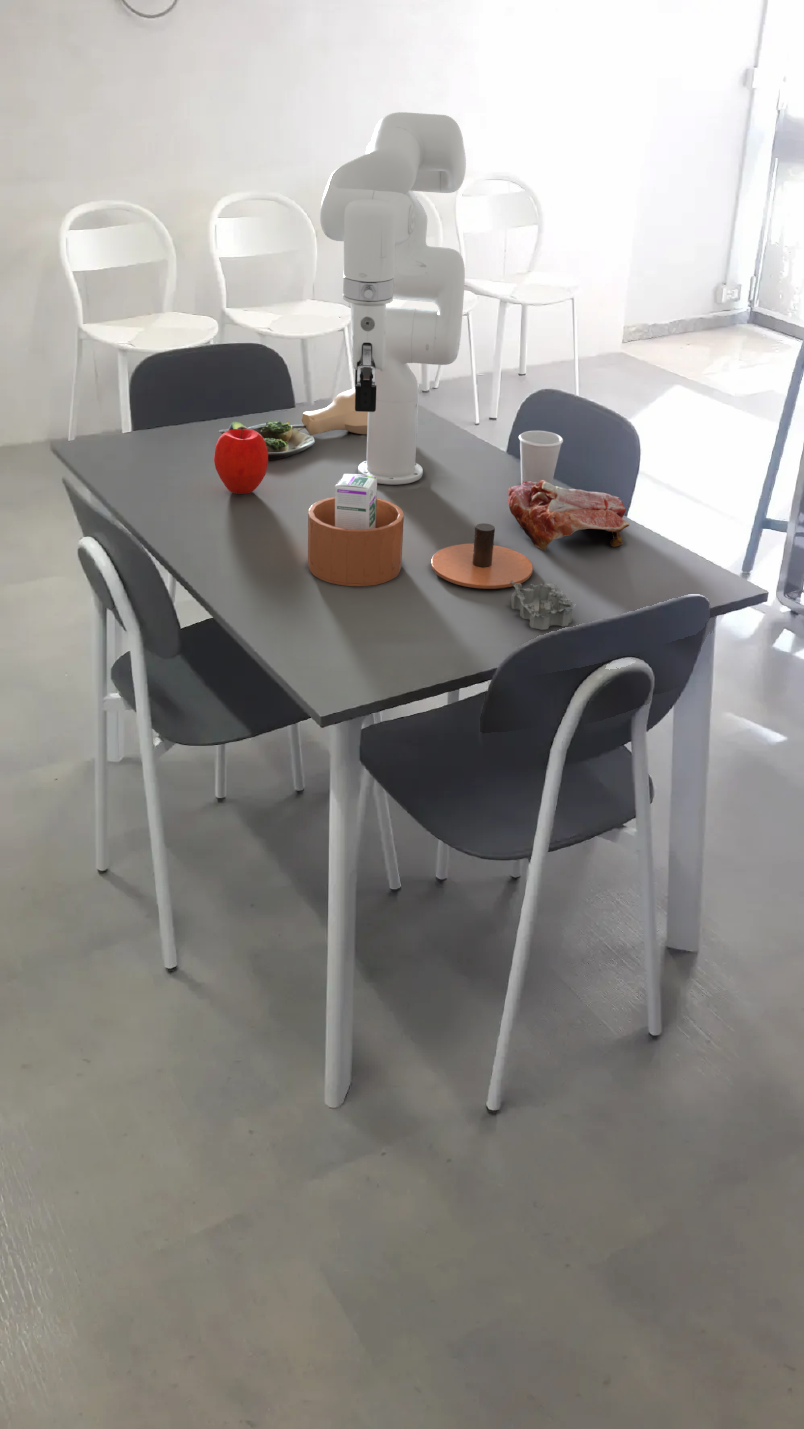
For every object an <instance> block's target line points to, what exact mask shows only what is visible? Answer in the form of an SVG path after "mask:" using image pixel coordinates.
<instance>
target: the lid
mask: <svg viewBox="0 0 804 1429" xmlns="http://www.w3.org/2000/svg"><path fill="white" fill-rule="evenodd" d="M495 530H496V527H495V525H493V524H490V523H484V522H481V523H477V524H475V526H474V538H473V543H461V544H454V545H450V546H447V547H444V548H441V549H439V550H438V551H436V553H434V554H433V556H432V558H431V562H430V565H431V569H432V571H433V572H434V573H435V574H436V575H437V576H439V577H440V578H441V579H443V580H445V581H448V582H450V583H453V584H455V585H458V586H462V587H468V588H473V589H483V590H485V589H487V590H488V589H489V590H490V589H491V590H492V589H493V590H494V589H505V588H509V587H514V585H513V584H511V583H510V582H511V581H513V582H514V583H515V584H516V583H520V584H523V583H524V582H526V581H528V580H529V579H530V578H531V576H532V575H533V570H534V567H533V564H532V562H531V560H530V558H528V557H527V556H525V555H524V554H523V553H520V552H519V551H516V550H514V549H511V548H508V547H505V546H500V545H495V544H494V543H495V532H496V531H495Z"/></svg>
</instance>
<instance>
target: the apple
mask: <svg viewBox="0 0 804 1429" xmlns="http://www.w3.org/2000/svg"><path fill="white" fill-rule="evenodd" d="M213 463H214V467H215V470H216V472H217V475H218V477H219V479H220V480H221V482H222V483H223V485H224V486H225V488H226V489H227V490H228V491H229V492H230V493H232V494H236V495H239V494H240V495H243V494H244V495H245V494H250V493H252V492H254V491H255V490H256V489H257V488H258V487H259V486H260V485H261V483H262V482H263V480H264V478H265V476H266V473H267V470H268V466H269V460H268V451H267V447H266V443H265V441H264V439H263V437H262V436H261V435H260V434H259V433H258V432H256V431H254V430H251V429H231V430H228V431H226V432H225V433H224V434H223V435H222V434H221V435H220V436H219V437H218V439H217V441H216V443H215V448H214V454H213Z"/></svg>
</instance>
